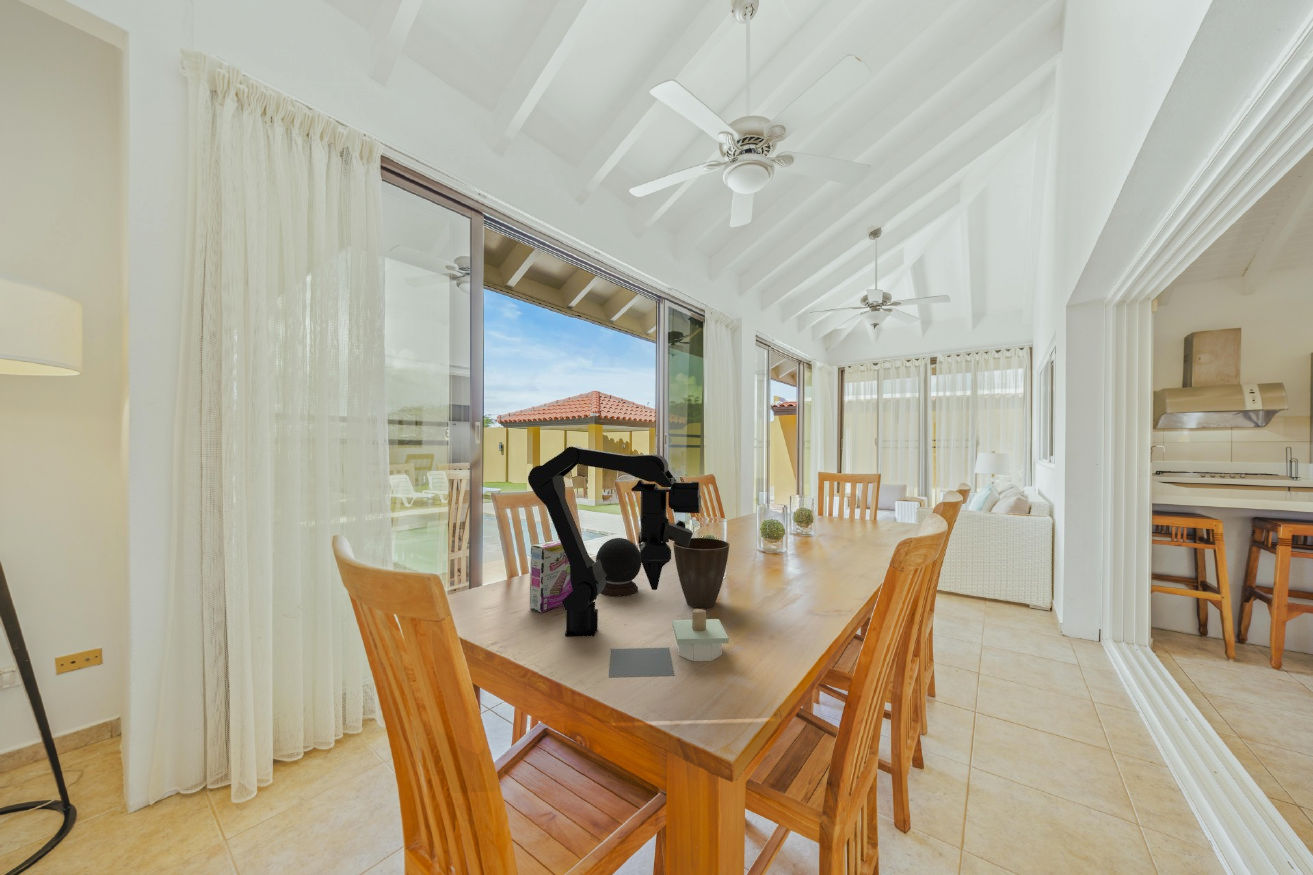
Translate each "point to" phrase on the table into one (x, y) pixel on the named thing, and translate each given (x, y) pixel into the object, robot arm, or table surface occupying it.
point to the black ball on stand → (619, 566)
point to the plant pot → (701, 569)
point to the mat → (640, 662)
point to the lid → (699, 630)
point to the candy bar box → (548, 576)
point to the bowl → (700, 651)
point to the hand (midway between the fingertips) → (653, 583)
